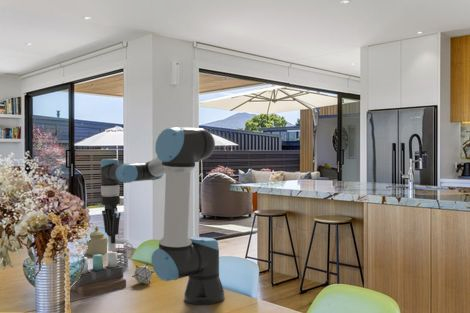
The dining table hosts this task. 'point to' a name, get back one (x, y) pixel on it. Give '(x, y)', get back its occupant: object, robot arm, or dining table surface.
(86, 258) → the grey plug
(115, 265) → the grey plug
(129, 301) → the dining table surface
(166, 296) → the dining table surface
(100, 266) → the teal plug
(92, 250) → the sugar bowl
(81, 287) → the socket board
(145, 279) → the grey spiky ball
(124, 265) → the french press
